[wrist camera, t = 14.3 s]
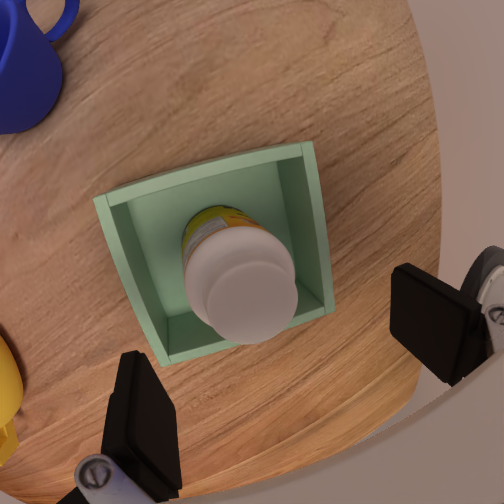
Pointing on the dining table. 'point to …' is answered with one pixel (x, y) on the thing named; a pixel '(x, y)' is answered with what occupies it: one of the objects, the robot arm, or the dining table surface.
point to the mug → (28, 65)
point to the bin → (190, 203)
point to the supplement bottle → (237, 275)
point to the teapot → (8, 401)
